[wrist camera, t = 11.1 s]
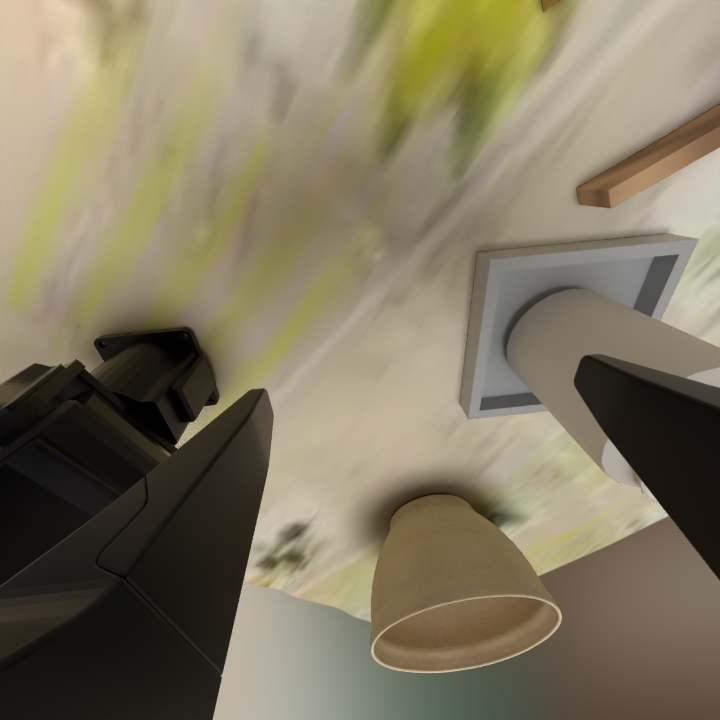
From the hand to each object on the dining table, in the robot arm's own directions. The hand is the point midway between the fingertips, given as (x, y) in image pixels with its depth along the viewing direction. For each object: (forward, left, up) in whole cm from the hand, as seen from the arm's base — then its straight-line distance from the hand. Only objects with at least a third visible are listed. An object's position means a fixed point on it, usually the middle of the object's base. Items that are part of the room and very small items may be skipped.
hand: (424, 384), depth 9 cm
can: (+13, -6, -13) cm, 19 cm away
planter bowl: (+5, -29, -13) cm, 32 cm away
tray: (+13, -6, -13) cm, 19 cm away
